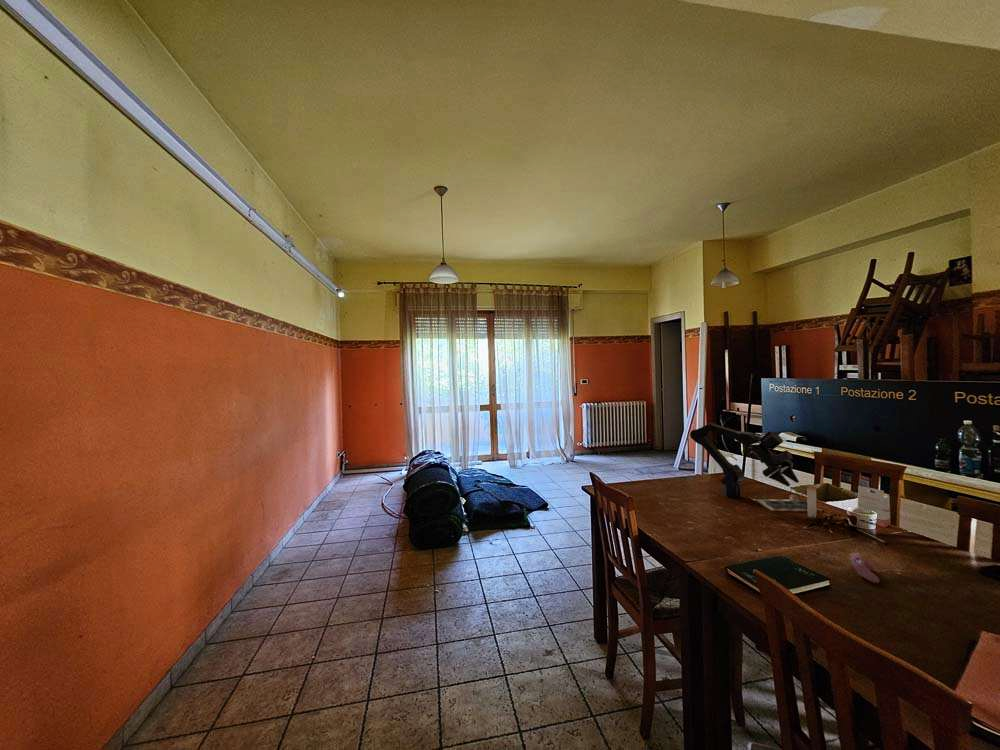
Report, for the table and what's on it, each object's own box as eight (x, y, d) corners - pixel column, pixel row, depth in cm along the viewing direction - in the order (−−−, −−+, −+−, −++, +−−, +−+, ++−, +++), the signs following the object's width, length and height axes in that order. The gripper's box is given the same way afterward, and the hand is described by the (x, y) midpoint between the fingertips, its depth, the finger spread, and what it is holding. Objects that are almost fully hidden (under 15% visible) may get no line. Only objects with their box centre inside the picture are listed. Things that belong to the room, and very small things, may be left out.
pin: (810, 517, 160) (810, 487, 160) (805, 514, 163) (805, 485, 163) (818, 517, 160) (817, 487, 160) (813, 514, 163) (812, 485, 163)
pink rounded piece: (858, 571, 120) (845, 549, 122) (876, 569, 118) (862, 547, 120) (862, 586, 113) (848, 562, 115) (881, 583, 110) (866, 559, 112)
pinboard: (772, 510, 168) (772, 502, 168) (756, 501, 180) (756, 494, 180) (816, 511, 167) (816, 503, 167) (797, 501, 178) (797, 494, 178)
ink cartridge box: (891, 525, 150) (890, 489, 150) (885, 527, 148) (884, 491, 148) (863, 517, 158) (862, 483, 158) (857, 520, 156) (856, 485, 156)
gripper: (769, 447, 166) (800, 478, 157) (787, 442, 176) (817, 470, 167) (750, 462, 173) (779, 491, 163) (768, 456, 183) (796, 483, 173)
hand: (793, 484), depth 167 cm, fingers open, 9 cm apart
